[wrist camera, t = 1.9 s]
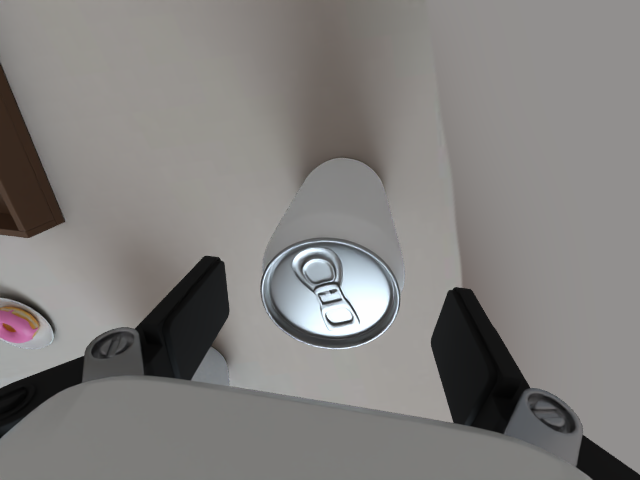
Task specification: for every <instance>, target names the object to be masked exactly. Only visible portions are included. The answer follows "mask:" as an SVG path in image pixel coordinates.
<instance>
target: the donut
mask: <svg viewBox="0 0 640 480" xmlns="http://www.w3.org/2000/svg"><path fill="white" fill-rule="evenodd" d="M53 338H54V333H53V330H52V327H51V326H50V324H49V323H48V321H47V320H46V319H45V318H44V317H43V316H42V315H41V314H39V313H38V312H37V311H35V310H34V309H32V308H30V307H29V306H27V305H25V304H22V303H20V302H18V301H14V300H11V299H7V298H0V340H2V341H4V342H6V343H8V344H11V345H13V346H16V347H20V348H25V349H41V348H44V347H47V346H48V345H50V344H51V343H52V341H53Z"/></svg>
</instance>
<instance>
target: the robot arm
mask: <svg viewBox="0 0 640 480" xmlns="http://www.w3.org/2000/svg"><path fill="white" fill-rule="evenodd" d="M228 315H229V301H228V292H227V283H226V274H225V265H224V262H223V261H221V260H220V258H219V257H212V256H204V257H203V258H202V259H201V260H200V261H199V262H198V263H197V264H196V265H195V267H194V268H193V269H192V270H191V271H190V272H189V273H188V274H187V275H186V276H185V277H184V278H183V279H182V280H181V281H180V282H179V283H178V284H177V285H176V286H175V287H174V288H173V290H172V291H171V292H170V293H169V294H168V295H167V296H166V297H165V298H164V299H163V300H162V301H161V302H160V303H159V304H158V305H157V306H156V307H155V308H154V309H153V310H152V312H151V313H150V314H149V315H148V316H147V317H146V318H145V319H144V320H143V321H142V322H141V323H140V324H139V325H138V326H137V327H136V328H135V329H133V328H129V327H121V328H116V329H112V330H110V331H107V332H105V333H103V334H101V335H99V336H98V337H96V338H95V339H94V340H93V341H92V342H91V343H90V344H89V345H88V346H87V348H86V351H85V355H84V356H82V357H80V358H77V359H74V360H72V361H69V362H66V363H64V364H61V365H58V366H56V367H53V368H50V369H48V370H45V371H43V372H40V373H37V374H35V375H32V376H29V377H27V378H24V379H21V380H19V381H16V382H13V383H11V384H9V385H7V386H4V387H2V388H0V480H640V475H639V474H638V473H636V472H635V471H634V470H632V469H631V468H629V467H628V466H626V465H625V464H623V463H622V462H621V461H619V460H618V459H617V458H615V457H614V456H612V455H611V454H609V453H608V452H607V451H605V450H604V449H602V448H601V447H599V446H598V445H596V444H595V443H594V442H592V441H591V440H589V439H588V438H586V437H585V436H584V435H583V428H582V424H581V422H580V419H579V418H578V416H577V415H576V413H575V412H574V411H573V410H572V409H571V408H570V407H569V406H568V405H567V404H566V403H565V402H564V401H562V400H561V399H559V398H558V397H557V396H555V395H553V394H551V393H549V392H547V391H544V390H541V389H537V388H530V387H529V385H528V383H527V381H526V380H525V378H524V377H523V375H522V373H521V371H520V370H519V368H518V366H517V365H516V363H515V361H514V360H513V358H512V356H511V354H510V353H509V351H508V349H507V348H506V346H505V344H504V342H503V341H502V339H501V338H500V336H499V334H498V333H497V331H496V329H495V328H494V327H493V326H492V324H491V322H490V320H489V319H488V317H487V315H486V314H485V312H484V310H483V308H482V307H481V305H480V303H479V302H478V300H477V298H476V296H475V295H474V293H473V291H472V290H471V289H465V288H458V287H455V288H454V289H453V290H449V291H448V293H447V296H446V299H445V302H444V304H443V307H442V310H441V313H440V316H439V318H438V321H437V324H436V327H435V329H434V332H433V335H432V338H431V347H432V351H433V354H434V358H435V361H436V364H437V368H438V371H439V375H440V378H441V381H442V385H443V388H444V392H445V395H446V399H447V402H448V405H449V409H450V412H451V416H452V419H453V422H454V423H450V422H444V421H439V420H433V419H428V418H422V417H416V416H410V415H404V414H398V413H392V412H386V411H380V410H374V409H368V408H362V407H356V406H350V405H344V404H338V403H332V402H326V401H319V400H313V399H307V398H301V397H295V396H288V395H282V394H276V393H269V392H263V391H257V390H250V389H244V388H237V387H231V386H225V385H218V384H212V383H205V382H197V381H191V379H192V377H193V376H194V374H195V372H196V371H197V369H198V367H199V366H200V364H201V362H202V360H203V359H204V357H205V355H206V354H207V352H208V350H209V348H210V347H211V345H212V343H213V342H214V340H215V338H216V337H217V335H218V333H219V331H220V330H221V328H222V326H223V325H224V323H225V321H226V319H227V318H228Z"/></svg>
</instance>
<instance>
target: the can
mask: <svg viewBox="0 0 640 480" xmlns="http://www.w3.org/2000/svg"><path fill="white" fill-rule="evenodd" d="M262 268H263V276H262V280H261V298H262V302H263V305H264V308H265V310H266V312H267V314H268V315H269V317H270V318H271V320H272V321H273V322H274V323H275V324H276V325H277V326H278V327H279V328H280V329H281V330H282V331H283V332H285V333H286V334H288V335H289V336H291V337H292V338H294V339H296V340H298V341H300V342H302V343H305V344H308V345H311V346H315V347H319V348H326V349H346V348H352V347H357V346H360V345H363V344H366V343H368V342H370V341H372V340H374V339H376V338H377V337H379V336H380V335H382V334H383V333H384V332H385V331H386V330H387V329H388V328H389V327H390V326H391V324H392V323H393V321H394V320H395V318H396V316H397V313H398V310H399V306H400V295H401V292H402V289H403V285H404V279H405V270H404V262H403V257H402V252H401V248H400V244H399V240H398V237H397V233H396V229H395V225H394V222H393V218H392V214H391V211H390V207H389V203H388V200H387V196H386V193H385V189H384V187H383V184H382V182H381V180H380V178H379V177H378V175H377V174H376V173H375V172H374V171H373V170H372V169H371V168H370V167H369V166H367V165H366V164H364V163H362V162H360V161H357V160H354V159H349V158H335V159H332V160H329V161H326V162H324V163H322V164H321V165H319V166H318V167H316V168H315V169H314V170H313V171H312V172H311V173H310V174H309V175H308V177H307V178H306V180H305V181H304V183H303V184H302V186H301V188H300V189H299V191H298V193H297V194H296V196H295V198H294V199H293V201H292V203H291V204H290V206H289V208H288V209H287V211H286V213H285V214H284V216H283V218H282V220H281V221H280V223H279V225H278V226H277V228H276V230H275V232H274V234H273V235H272V237H271V239H270V241H269V243H268V245H267V248H266V251H265V254H264V258H263V266H262Z"/></svg>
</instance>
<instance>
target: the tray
mask: <svg viewBox="0 0 640 480" xmlns="http://www.w3.org/2000/svg"><path fill="white" fill-rule="evenodd" d="M63 222H65V221H64V218H63V216H62V213H61V211H60V209H59V206H58V204H57V201H56V199H55V196H54V194H53V191H52V189H51V187H50V184H49V182H48V179H47V177H46V174H45V172H44V170H43V167H42V165H41V162H40V160H39V157H38V155H37V153H36V150H35V148H34V145H33V143H32V140H31V138H30V135H29V133H28V131H27V128H26V126H25V123H24V121H23V118H22V116H21V114H20V111H19V109H18V106H17V104H16V101H15V99H14V97H13V94H12V92H11V89H10V87H9V84H8V82H7V79H6V77H5V75H4V72H3V70H2V67H1V65H0V235H8V236H16V237H24V238H30V237H32V236H34V235H37V234H39V233H41V232H43V231H46V230H48V229H50V228H52V227H54V226H57V225H59V224H61V223H63Z"/></svg>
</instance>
